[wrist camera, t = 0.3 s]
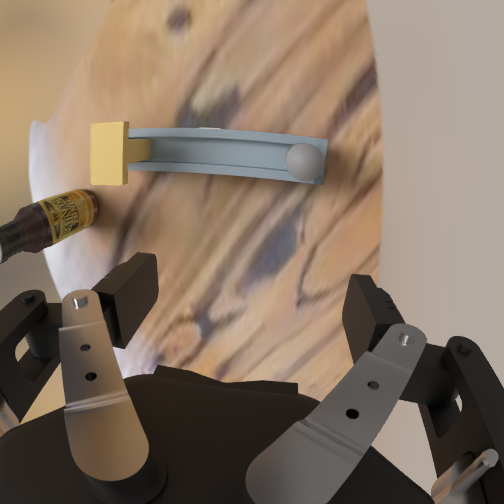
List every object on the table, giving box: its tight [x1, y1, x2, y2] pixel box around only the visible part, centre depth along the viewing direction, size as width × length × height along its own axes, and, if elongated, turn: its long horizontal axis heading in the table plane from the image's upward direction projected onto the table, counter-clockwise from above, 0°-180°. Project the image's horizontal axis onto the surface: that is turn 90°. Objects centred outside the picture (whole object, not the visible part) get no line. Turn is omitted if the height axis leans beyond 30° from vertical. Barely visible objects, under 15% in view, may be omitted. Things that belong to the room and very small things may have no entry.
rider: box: [90, 122, 151, 185], centre depth 30 cm, size 4×6×7 cm, turn 175°
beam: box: [128, 128, 328, 185], centre depth 33 cm, size 26×5×10 cm, turn 85°
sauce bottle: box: [0, 189, 98, 264], centre depth 33 cm, size 7×6×20 cm
